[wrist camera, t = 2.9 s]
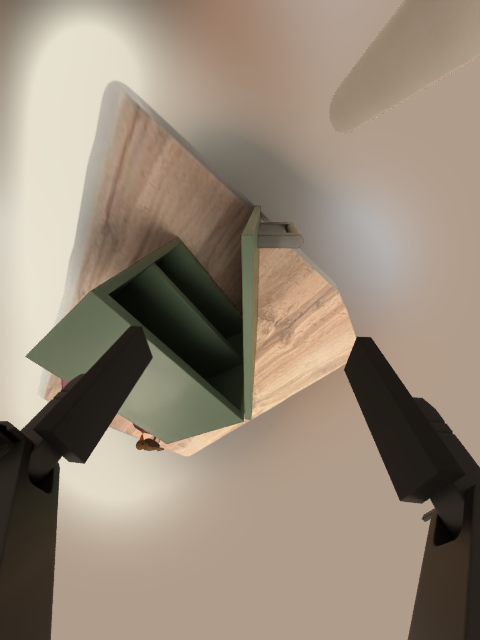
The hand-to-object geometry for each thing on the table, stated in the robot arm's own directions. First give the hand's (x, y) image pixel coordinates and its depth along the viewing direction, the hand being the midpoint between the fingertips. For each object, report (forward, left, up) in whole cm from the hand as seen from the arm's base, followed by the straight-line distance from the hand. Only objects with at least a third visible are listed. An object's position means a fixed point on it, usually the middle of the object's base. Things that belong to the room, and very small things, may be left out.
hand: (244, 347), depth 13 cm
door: (+2, +8, -31) cm, 32 cm away
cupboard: (+22, +4, -31) cm, 39 cm away
